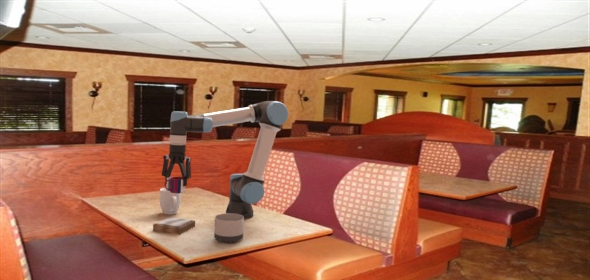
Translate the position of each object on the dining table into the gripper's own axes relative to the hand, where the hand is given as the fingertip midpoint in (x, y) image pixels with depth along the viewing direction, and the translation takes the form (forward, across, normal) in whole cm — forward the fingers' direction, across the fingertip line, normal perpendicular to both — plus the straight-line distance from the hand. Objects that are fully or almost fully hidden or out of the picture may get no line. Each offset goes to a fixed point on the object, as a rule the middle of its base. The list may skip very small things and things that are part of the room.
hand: (175, 191), depth 202 cm
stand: (+18, -1, +1) cm, 18 cm away
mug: (+18, +16, -22) cm, 32 cm away
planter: (+18, -31, +5) cm, 36 cm away
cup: (+1, +1, 0) cm, 1 cm away
